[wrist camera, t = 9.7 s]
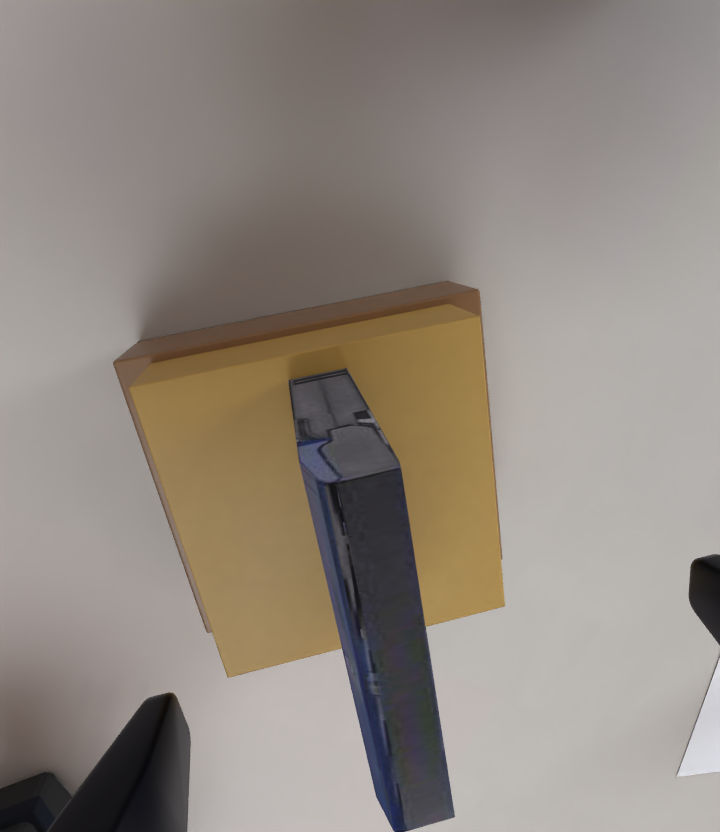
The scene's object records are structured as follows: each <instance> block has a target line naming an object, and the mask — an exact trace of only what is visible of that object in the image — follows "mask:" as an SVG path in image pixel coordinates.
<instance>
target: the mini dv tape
mask: <svg viewBox="0 0 720 832" xmlns="http://www.w3.org/2000/svg"><path fill="white" fill-rule="evenodd" d="M288 384H289V391H290V399H291V406H292V413H293V421H294V428H295V436H296V443H297V450H298V458H299V464H300V468H301V472H302V477H303V481H304V485H305V490H306V494H307V498H308V503H309V507H310V511H311V516H312V520H313V524H314V529H315V533H316V537H317V542H318V546H319V550H320V555H321V559H322V563H323V568H324V572H325V576H326V581H327V585H328V589H329V594H330V598H331V602H332V607H333V611H334V615H335V620H336V624H337V628H338V633H339V637H340V641H341V646H342V650H343V654H344V659H345V663H346V667H347V672H348V676H349V680H350V685H351V689H352V693H353V698H354V702H355V706H356V711H357V715H358V719H359V724H360V728H361V732H362V737H363V741H364V745H365V750H366V754H367V758H368V763H369V767H370V771H371V776H372V780H373V784H374V789H375V793H376V797H377V799H378V801H379V803H380V805H381V807H382V809H383V811H384V813H385V815H386V817H387V819H388V821H389V823H390V825H391V827H392V829H393V831H395V832H406V831H409V830H413V829H416V828H419V827H423V826H426V825H430V824H433V823H436V822H440V821H443V820H447V819H450V818H453V817H455V815H454V809H453V802H452V796H451V789H450V782H449V776H448V769H447V763H446V756H445V750H444V743H443V737H442V730H441V724H440V717H439V711H438V704H437V698H436V691H435V685H434V678H433V672H432V665H431V659H430V652H429V646H428V639H427V633H426V626H425V620H424V613H423V607H422V600H421V594H420V587H419V581H418V574H417V568H416V561H415V555H414V548H413V542H412V535H411V529H410V522H409V516H408V509H407V503H406V496H405V490H404V483H403V477H402V470H401V465H400V462H399V460H398V458H397V456H396V455H395V453H394V451H393V449H392V447H391V446H390V444H389V442H388V440H387V439H386V437H385V435H384V433H383V431H382V430H381V428H380V426H379V424H378V422H377V421H376V419H375V417H374V415H373V414H372V412H371V410H370V408H369V406H368V405H367V403H366V401H365V399H364V398H363V396H362V394H361V392H360V390H359V389H358V387H357V385H356V383H355V382H354V380H353V378H352V376H351V374H350V373H349V371H348V369H347V368H344V369H339V370H334V371H330V372H325V373H320V374H315V375H310V376H305V377H300V378H296V379H291V380H288Z"/></svg>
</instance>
